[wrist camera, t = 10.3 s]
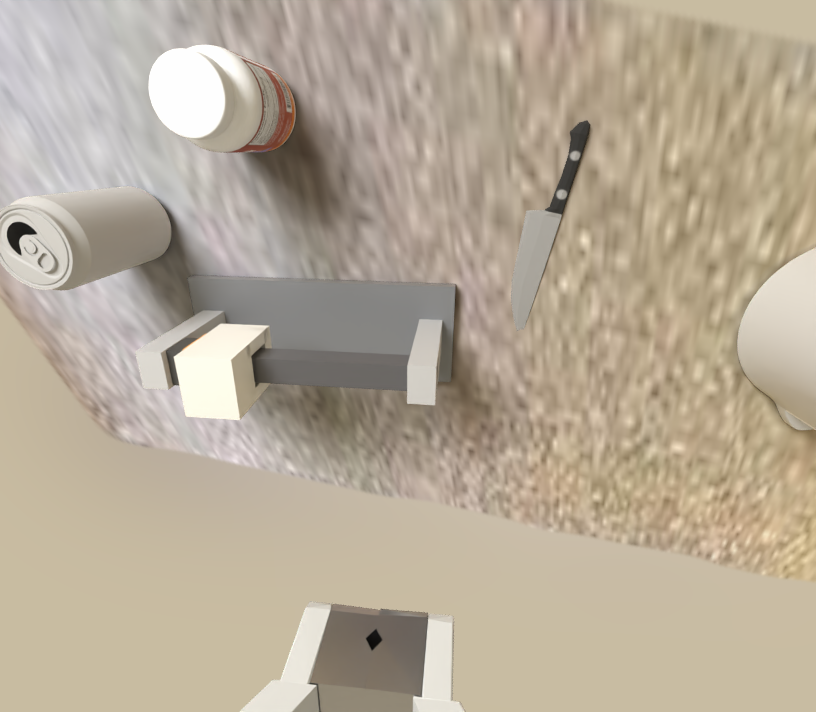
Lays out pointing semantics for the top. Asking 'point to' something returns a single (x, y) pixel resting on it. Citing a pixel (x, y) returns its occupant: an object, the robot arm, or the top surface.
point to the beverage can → (81, 236)
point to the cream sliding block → (221, 371)
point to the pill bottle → (221, 100)
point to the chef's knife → (543, 233)
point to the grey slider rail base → (322, 332)
